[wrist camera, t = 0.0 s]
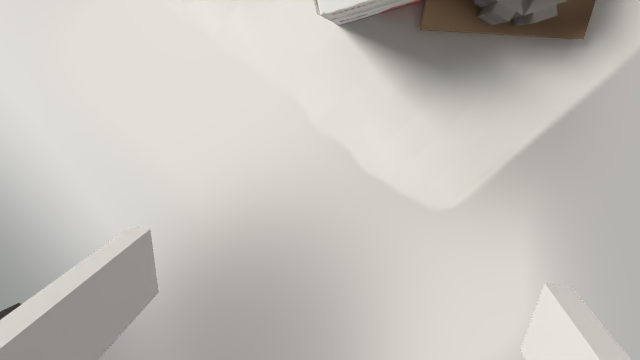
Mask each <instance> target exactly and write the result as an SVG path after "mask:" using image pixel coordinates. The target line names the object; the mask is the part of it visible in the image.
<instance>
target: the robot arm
mask: <svg viewBox="0 0 640 360" xmlns="http://www.w3.org/2000/svg"><path fill="white" fill-rule="evenodd" d="M157 293H158V285H157V278H156V270H155V262H154V255H153V248H152V239H151V232H150V229H147V228H139V227H132V226H130V227H129V228H127V229H126V230H124V231H123V232H122V233H120V234H119V235H117V236H116V237H115V238H113V239H112V240H110V241H109V242H108V243H106V244H105V245H103V246H102V247H101V248H99V249H98V250H97V251H95V252H94V253H93V254H91V255H90V256H88V257H87V258H85V259H84V260H83V261H81V262H80V263H79V264H77V265H76V266H75V267H73V268H72V269H70V270H69V271H67V272H66V273H65V274H63V275H62V276H60V277H59V278H58V279H56V280H55V281H54V282H52V283H51V284H50V285H48V286H47V287H45V288H44V289H43V290H41V291H40V292H38V293H37V294H36V295H34V296H33V297H31V298H30V299H29V300H27V301H26V302H24V303H23V304H20V303H18V304H16V305H13V306H11V307H9V308H7V309H5V310H3V311H1V312H0V360H98V359H99V358H100V357H101V356H102V355H103V354H104V353H105V352H106V351H107V349H108V348H109V347H110V346H111V345H112V344H113V343H114V342H115V340H116V339H117V338H118V337H119V336H120V335H121V334H122V333H123V331H124V330H125V329H126V328H127V327H128V326H129V325H130V324H131V322H132V321H133V320H134V319H135V318H136V317H137V316H138V315H139V314H140V312H141V311H142V310H143V309H144V308H145V307H146V306H147V305H148V303H149V302H150V301H151V300H152V299H153V298H154V297H155V296H156V295H157ZM520 351H521V353H522V354H523V357H524V359H525V360H631V359H630V358H629V357H628V355H627V354H626V353H625V352H624V350H623V349H622V348H621V347H620V346H619V344H618V343H617V342H616V341H615V340H614V338H613V337H612V336H611V335H610V333H609V332H608V331H607V330H606V329H605V327H604V326H603V325H602V324H601V323H600V321H599V320H598V319H597V318H596V317H595V315H594V314H593V313H592V312H591V310H590V309H589V308H588V307H587V306H586V304H585V303H584V302H583V301H582V300H581V299H580V297H579V296H578V295H577V293H576V292H575V291H574V290H573V289H572V287H569V286H561V285H554V284H546V283H545V284H544V286H543V289H542V292H541V294H540V297H539V300H538V303H537V306H536V308H535V311H534V314H533V317H532V319H531V323H530V325H529V328H528V331H527V333H526V336H525V339H524V341H523V344H522V347H521V350H520Z"/></svg>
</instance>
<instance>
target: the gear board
mask: <svg viewBox="0 0 640 360" xmlns="http://www.w3.org/2000/svg"><path fill="white" fill-rule="evenodd" d="M594 4H595V0H425V2H424V8H423V15H422V21H421V28H420V30H434V31H451V32H467V33H484V34H501V35H518V36H535V37H552V38H568V39H582V38H584V35H585V32H586V29H587V26H588V23H589V20H590V16H591V13H592V10H593V7H594Z"/></svg>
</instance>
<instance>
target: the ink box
mask: <svg viewBox="0 0 640 360" xmlns="http://www.w3.org/2000/svg"><path fill="white" fill-rule="evenodd" d="M420 1H421V0H314V4H315V8H316V12H317V14H319V15H321V16H322V17H324V18H326V19H328V20H330V21H332V22H334V23H335V24H337V25H341V24H345V23H348V22H352V21H355V20H359V19H362V18H366V17H369V16H372V15H375V14H379V13H382V12H386V11H389V10H392V9H396V8H399V7H403V6H406V5H410V4H413V3H417V2H420Z"/></svg>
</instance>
